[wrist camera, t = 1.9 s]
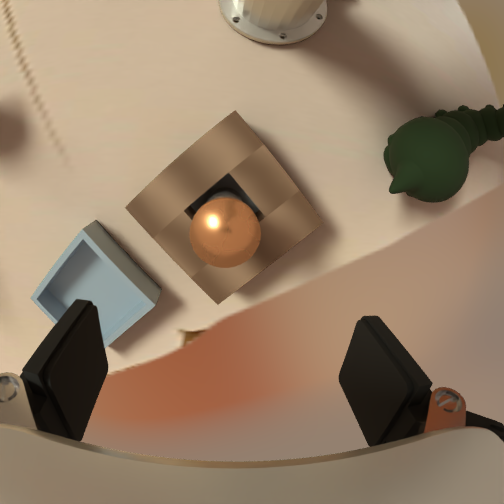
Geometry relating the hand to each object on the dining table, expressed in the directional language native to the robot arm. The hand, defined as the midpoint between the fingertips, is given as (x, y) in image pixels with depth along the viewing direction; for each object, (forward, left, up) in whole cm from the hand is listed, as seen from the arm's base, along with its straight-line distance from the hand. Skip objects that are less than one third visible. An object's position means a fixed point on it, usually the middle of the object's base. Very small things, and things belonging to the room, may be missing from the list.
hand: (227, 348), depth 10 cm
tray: (+20, -3, -25) cm, 32 cm away
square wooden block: (0, 0, -25) cm, 25 cm away
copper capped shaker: (0, 0, -24) cm, 24 cm away
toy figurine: (-26, +9, -25) cm, 38 cm away
